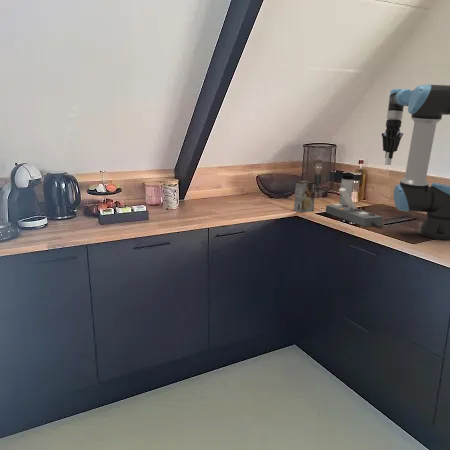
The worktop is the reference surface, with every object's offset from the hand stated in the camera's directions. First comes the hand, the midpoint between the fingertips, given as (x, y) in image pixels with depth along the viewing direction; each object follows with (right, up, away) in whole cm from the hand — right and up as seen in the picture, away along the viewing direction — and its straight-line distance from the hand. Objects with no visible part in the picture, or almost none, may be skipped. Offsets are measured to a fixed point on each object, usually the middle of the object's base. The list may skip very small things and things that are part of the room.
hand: (387, 164), depth 227 cm
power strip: (-20, -30, -11) cm, 38 cm away
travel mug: (-19, -23, +17) cm, 34 cm away
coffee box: (-44, -25, +5) cm, 51 cm away
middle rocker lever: (-21, -24, -9) cm, 33 cm away
